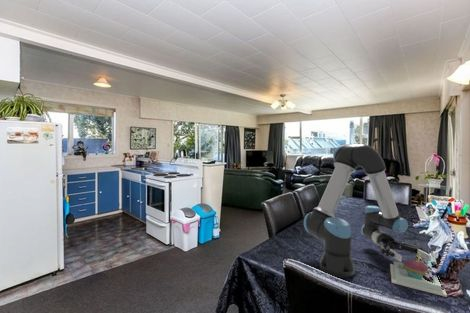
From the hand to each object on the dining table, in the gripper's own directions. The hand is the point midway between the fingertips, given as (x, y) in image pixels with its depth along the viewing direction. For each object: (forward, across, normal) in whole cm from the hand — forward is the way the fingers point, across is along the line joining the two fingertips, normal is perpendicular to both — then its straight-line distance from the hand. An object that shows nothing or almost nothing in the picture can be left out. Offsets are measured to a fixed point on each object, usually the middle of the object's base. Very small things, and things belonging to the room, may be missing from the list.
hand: (415, 258), depth 104 cm
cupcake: (+1, 0, -8) cm, 8 cm away
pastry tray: (+1, 0, -9) cm, 9 cm away
